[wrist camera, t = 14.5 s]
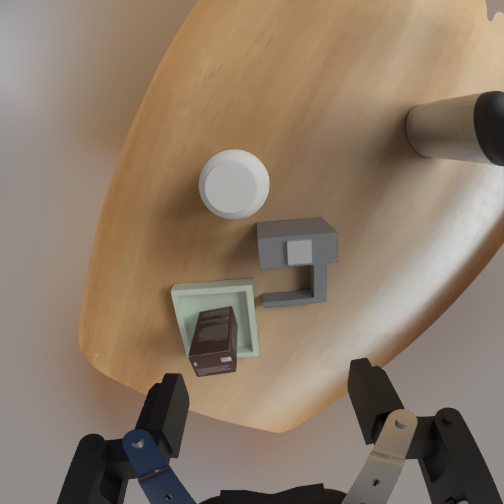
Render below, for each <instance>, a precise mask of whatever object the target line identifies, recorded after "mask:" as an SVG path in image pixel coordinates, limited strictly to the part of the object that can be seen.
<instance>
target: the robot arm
mask: <svg viewBox="0 0 504 504" xmlns="http://www.w3.org/2000/svg"><path fill="white" fill-rule="evenodd" d="M406 134H407V137H408V140H409V142H410V144H411V146H412V147H413V148H414V150H415V151H417V152H418V153H419V154H421V155H422V156H425V157H431V158H441V159H451V160H460V161H469V162H476V163H485V164H492V165H498V166H504V92H501V91H491V92H485V93H479V94H473V95H467V96H461V97H456V98H451V99H445V100H440V101H436V102H430V103H426V104H422V105H418V106H415V107H414V108H413V109H411V111H410V112H409V113H408V116H407V118H406ZM348 393H349V396H350V399H351V402H352V405H353V408H354V410H355V413H356V416H357V419H358V422H359V425H360V428H361V431H362V434H363V436H364V440H365V442H366V445H368V444H372V443H374V448H373V450H372V452H371V453H370V454H369V456H368V458H367V460H366V462H365V464H364V466H363V468H362V469H361V471H360V473H359V475H358V477H357V478H356V480H355V482H354V483H353V485H352V487H351V488H350V490H349V492H348V493H347V494H346V493H344V492H341V491H338V490H334V489H324V486H323V483H321V484H314V485H307V486H300V487H295V488H292V489H289V490H286V491H283V492H279V493H275V494H265V493H259V492H253V491H247V490H221V493H220V496H216V497H213V498H210V499H207V500H205V501H203V502H201V503H199V504H386V503H387V501H388V499H389V497H390V495H391V493H392V490H393V489H394V486H395V484H396V482H397V480H398V477H399V475H400V473H401V471H402V468H403V466H404V463H405V459H418V462H419V465H420V467H421V471H422V474H423V477H424V480H425V483H426V486H427V489H428V493H429V496H430V499H431V502H432V504H503V503H502V500H501V498H500V495H499V493H498V490H497V488H496V485H495V483H494V481H493V478H492V476H491V474H490V472H489V469H488V467H487V465H486V463H485V461H484V458H483V456H482V454H481V452H480V450H479V448H478V446H477V444H476V442H475V440H474V438H473V436H472V434H471V432H470V431H469V428H468V427H467V425H466V423H465V421H464V419H463V417H462V416H461V414H460V413H459V411H457V410H456V409H453V408H443V409H441V410H439V411H438V412H437V414H436V415H435V416H430V417H417V416H415V415H414V413H412V412H410V411H409V410H405V409H404V407H403V405H402V402H401V400H400V399H399V397H398V395H397V393H396V391H395V389H394V387H393V385H392V384H391V382H390V381H389V378H388V376H387V374H386V372H385V371H384V370H383V369H381V368H380V367H379V366H374V367H372V366H371V364H370V362H369V360H368V359H367V358H361V359H356V360H352V361H351V363H350V370H349V377H348ZM188 409H189V395H188V392H187V389H186V386H185V383H184V380H183V377H182V374H180V373H166V374H165V375H164V377H163V380H162V383H155V384H154V386H153V387H152V388H151V389H150V390H149V392H148V395H147V397H146V400H145V403H144V406H143V408H142V411H141V413H140V416H139V419H138V421H137V424H136V427H135V429H134V430H131V431H129V432H128V433H127V434H125V435H124V437H123V438H122V439H115V440H104V438H103V437H102V436H100V435H98V434H89V435H86V436H84V437H83V438H82V439H81V440H80V442H79V444H78V447H77V449H76V452H75V455H74V457H73V460H72V462H71V465H70V468H69V470H68V473H67V476H66V479H65V481H64V484H63V487H62V490H61V493H60V496H59V498H58V502H57V504H123V502H124V497H125V493H126V488H127V484H128V479H136V478H138V482H139V484H140V486H141V488H142V489H143V491H144V493H145V495H146V497H147V498H148V500H149V502H150V504H197V503H196V502H195V501H194V500H193V498H192V497H191V495H190V494H189V493H188V491H187V490H186V489H185V487H184V486H183V485H182V483H181V482H180V480H179V479H178V477H177V476H176V475H175V473H174V472H173V470H172V469H171V467H170V466H169V461H170V458H178V456H179V451H180V446H181V441H182V436H183V431H184V427H185V422H186V418H187V413H188Z"/></svg>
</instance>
